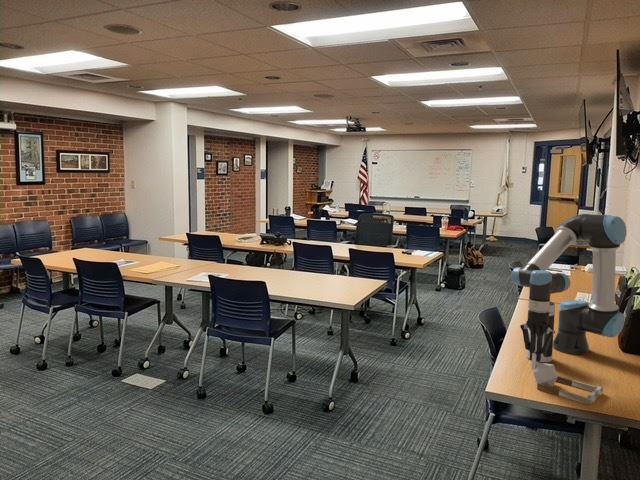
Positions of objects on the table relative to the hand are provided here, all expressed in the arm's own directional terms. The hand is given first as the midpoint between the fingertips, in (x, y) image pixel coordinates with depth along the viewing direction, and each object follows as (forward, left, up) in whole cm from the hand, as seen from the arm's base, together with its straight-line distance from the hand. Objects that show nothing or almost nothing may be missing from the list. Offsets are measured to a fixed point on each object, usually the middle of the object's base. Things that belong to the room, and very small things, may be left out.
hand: (534, 368), depth 193 cm
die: (+1, +5, -5) cm, 7 cm away
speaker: (-27, -9, -5) cm, 28 cm away
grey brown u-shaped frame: (0, +13, -5) cm, 14 cm away
